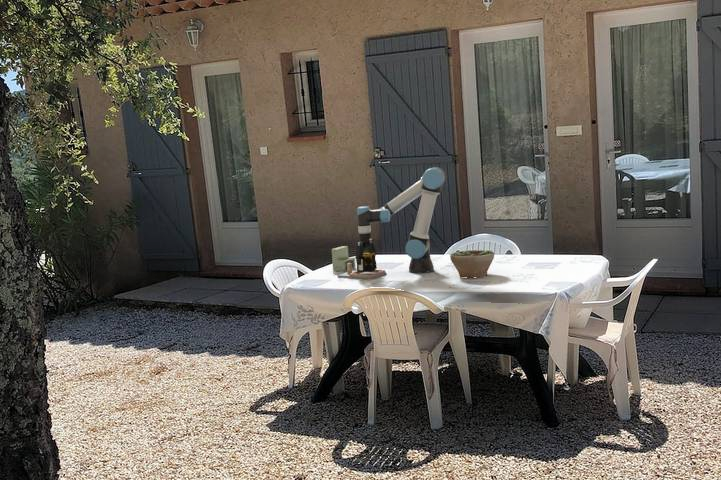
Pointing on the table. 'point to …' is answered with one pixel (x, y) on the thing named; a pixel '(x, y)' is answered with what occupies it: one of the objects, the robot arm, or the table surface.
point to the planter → (472, 262)
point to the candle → (368, 262)
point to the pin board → (362, 273)
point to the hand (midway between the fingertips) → (366, 268)
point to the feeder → (341, 259)
